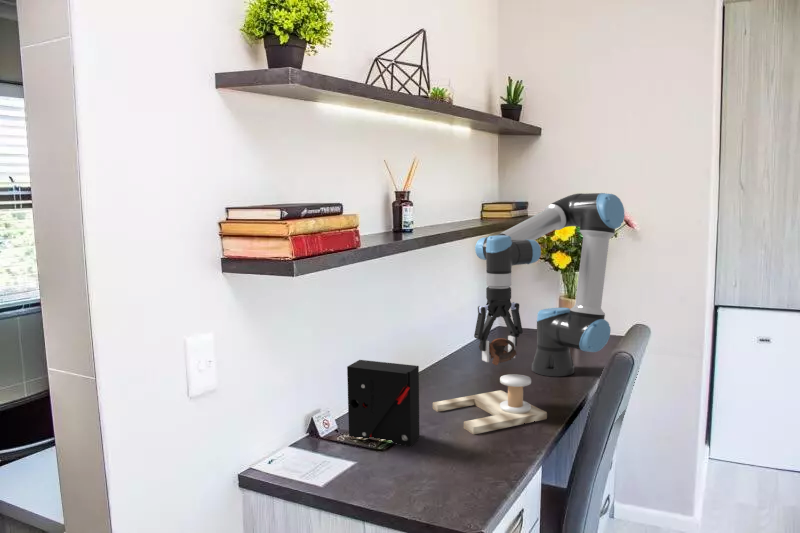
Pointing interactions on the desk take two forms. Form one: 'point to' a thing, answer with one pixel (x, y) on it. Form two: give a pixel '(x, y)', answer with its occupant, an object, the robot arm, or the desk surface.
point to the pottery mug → (500, 350)
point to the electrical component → (383, 401)
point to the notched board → (492, 406)
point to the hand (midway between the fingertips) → (498, 358)
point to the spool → (515, 393)
